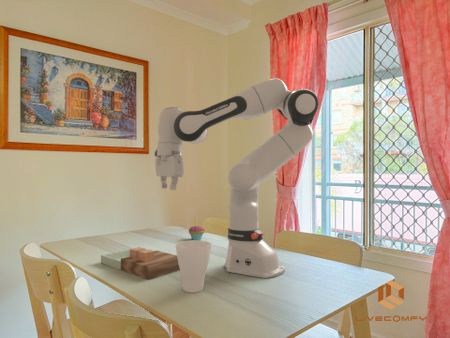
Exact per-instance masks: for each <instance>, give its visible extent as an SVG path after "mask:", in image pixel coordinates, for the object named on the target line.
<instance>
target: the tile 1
mask: <svg viewBox="0 0 450 338" xmlns="http://www.w3.org/2000/svg"><path fill="white" fill-rule="evenodd" d="M129 249H130V258H133V259H138V251H142V250H146V249H147V248H143V247H140V246H139V247H133V248H129Z"/></svg>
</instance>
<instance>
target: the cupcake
mask: <svg viewBox="0 0 450 338" xmlns="http://www.w3.org/2000/svg"><path fill="white" fill-rule="evenodd" d="M205 233H206V231H205V228H204V227H202V226H199V225H198V218H197V217H195V226H191V227H190V228H189V229H188V234H189V235H190V238H191V240H192V239H193V240H200V239H201V240H202V237H203V235H204V234H205ZM201 240H200V241H201Z"/></svg>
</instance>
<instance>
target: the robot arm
mask: <svg viewBox="0 0 450 338" xmlns="http://www.w3.org/2000/svg"><path fill="white" fill-rule="evenodd" d="M319 107H320V102H319V98H318V96H317V94H315V92H314V91H312V90H310V89H307V88H301V89H298V90H294V91H290V90H289V89H288V87H287V85H286V84H285V82H284V81H283V80H281V79H280V78H278V77H277V78H271V79H270V78H269V79H266V80H263V81H260V82H257V83H255V84H254V85H251V86H249V87H247V88H245V89H243V90H242V91H240V92H238V93H236V94H235V95H233V96H231V97H229V98H227V99H225V100H223V101H220V102H217V103H216V104H213V105H211V106H209V107H206V108H203V109H200V110H196V111H194V110H188V111H183V110H182V109H181V108H180V107H174V106H173V107H172V106H171V107H166V108H164V109H162V110H161V111H160V113H159V117H158V123H157V124H158V127H157V132H158V140H157V148H156V149H155V151H154V157H155V175H156V176H157V177H160V183H161V189H167V188H168V184H167V179H168V178H169V177H170V180H171V181H170V185H169V189H170V190H171V191H176V190H177V185H178V182H179V178H183V176H184V157H183V156H182V153H183V152H182V148H183V142H186V143H189V144H194V145H196V144H200V143H203V142H204V141H205V140H206V138H207V136H208V130H209V128H212V127H213V126H217V125H218V124H220V123H223V122H225V121H227V120H231V119H232V120H233V119H240V120H241V119H242V120H247V121H248V120H250V119H255V118H258V117H261V116H263V115H265V114H267V113H269V112H271V111H274V110H277V111H278V112H279V114H280V115H281V116H282V118H284V119H286V123H285V125H284V126H283V127H282V128H281V129H280V130H278V131H277V132H276V133H275V134H273V135H272V136H271V137H270V138H268V139H267V140H266V141H264V142H263V143H262V144H260V146H258V147H256V148H255V149H254V150H252V151H251V152H249V153H248V154H247V155H245V156H244V157H243V158H241V159H240V160H239V161H238V162H236V163H235V164H233V165H232V166H231V168H230V170H229V171H228V178H227V179H228V183H229V184H230V197H229V206H228V207H229V208H228V209H229V210H228V211H229V212H228V213H229V215H228V217H229V220H228V221H229V222H228V224H229V225H228V228H227V239H228V244H227V245H228V247H227V253H226V258H225V262H224V265H223V266H224V268H225V269H226V270H225V271H226V272H227V273H232V274H238V275H245V276H251V277H257V278H263V279H270V278H273V277H277V276H280V275H282V274H283V273H284V272H285V271H286V268H285V266H284V265H280V264H279V256H278V253H277V252H276V251H275V250H274V249H273V248H272V247H271V246H270V245H269V244H268V243H267V242H266V241H265V240H264V238H263V236H265V235H266V234H265V231H261V230H260V228H259V224H260V223H259V221H260V217H259V216H260V215H259V213H260V209H259V207H260V201H259V200H260V185H261V184H262V183H263V182H264V181H265V180H267V179H268V178H269V177H271V176H272V175H273V174H274V173H275V172H277V171H278V170H279V169H281V168H282V167H283V166H284V165H285V164H287V163H288V162H289V161H290V160H292V159H293V158H294V157H296V156H297V155H298V154H300V153H301V152H302V150H303V149H305V147H307V146H308V144H309V143H310V142H311V141H312V139H313V136H314V133H313V129H312V127H311V126H310V125H311V124H312V123H313V121H314V118H315V116H316V114H317V113H318V109H319Z"/></svg>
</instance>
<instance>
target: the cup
mask: <svg viewBox="0 0 450 338" xmlns="http://www.w3.org/2000/svg"><path fill="white" fill-rule="evenodd" d="M175 248H176V250H175V252H176V255H177V258H178V264H179V268H180V270H179V271H180V277H181V281H182V282H181V283H182V290H183V292H186V293H191V294H193V293H195V294H196V293H200V292H202V291H203V289H204V284H205V283H204V282H205V277H206V273H207V270H208V266H209V262H210V261H209V260H210V255H211V251H212V250H211V249H212V243H211V242H210V241H207V240H192V239H189V240H181V241H179V242H177V243H175Z"/></svg>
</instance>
